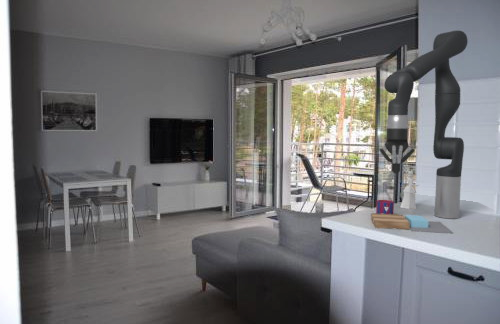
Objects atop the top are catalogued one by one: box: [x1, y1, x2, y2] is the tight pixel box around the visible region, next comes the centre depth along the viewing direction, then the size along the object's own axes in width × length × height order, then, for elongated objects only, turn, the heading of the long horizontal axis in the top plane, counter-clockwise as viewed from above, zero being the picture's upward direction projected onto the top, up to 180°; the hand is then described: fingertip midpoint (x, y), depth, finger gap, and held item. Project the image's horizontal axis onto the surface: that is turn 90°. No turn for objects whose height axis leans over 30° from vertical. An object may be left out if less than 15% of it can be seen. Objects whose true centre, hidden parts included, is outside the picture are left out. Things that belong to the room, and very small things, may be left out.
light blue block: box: [404, 214, 429, 228], centre depth 148 cm, size 9×6×2 cm, turn 173°
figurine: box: [399, 169, 419, 210], centre depth 182 cm, size 7×8×18 cm
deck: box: [370, 212, 410, 230], centre depth 149 cm, size 14×12×2 cm
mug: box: [375, 199, 395, 214], centre depth 163 cm, size 7×10×7 cm
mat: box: [409, 220, 454, 234], centre depth 146 cm, size 16×14×1 cm
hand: (395, 173), depth 148 cm, fingers closed
